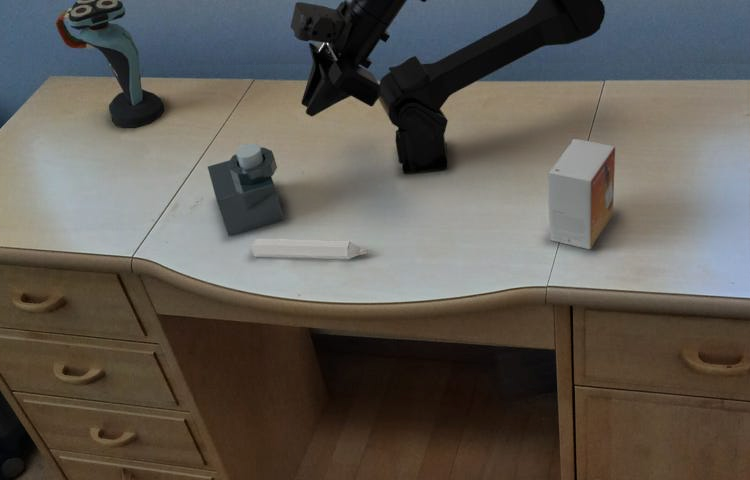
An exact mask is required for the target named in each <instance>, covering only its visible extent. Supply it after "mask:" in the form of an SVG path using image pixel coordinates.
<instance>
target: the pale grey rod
mask: <svg viewBox="0 0 750 480" xmlns="http://www.w3.org/2000/svg"><path fill="white" fill-rule="evenodd" d="M251 250H252V255H253V256H255V257H256V258H285V259H314V260H315V259H319V260H351V259H353V258H355V257H357V256H360V255H361V256H362V255H365V254H368V253H371V251H370V250H367V249H364V248H362V247H359V246H358V245H356V244H354V243H352V242H351V241H350V240H322V239H321V240H319V239H318V240H317V239H282V238H281V239H279V238H254V240H253V242H252V244H251Z"/></svg>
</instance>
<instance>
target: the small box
mask: <svg viewBox="0 0 750 480" xmlns="http://www.w3.org/2000/svg"><path fill="white" fill-rule="evenodd" d="M615 159H616V147H615V146H613V145H609V144H605V143H604V144H603V143H599V142H593V141H588V140H582V139H578V138H573V139H572V140H571V141H570V143H569V145H568V147H566V149H565V150H564V152H563V153H562V155H560V157H559V158H558V160H557V161H556V162H555V163H554V165H553V166H552V168H550V170H549V171H548V172H547V188H548V193H547V194H548V226H549V227H548V228H549V240H550V241H553V242H557V243H561V244H565V245H570V246H573V247H578V248H582V249H586V250H591V249H592V248H593V246H594V244H595V242H596V241H597V240H598V238H599V236H600V235H601V233H602V231H603V230H604V228H605V227H606V226H607V224H608V223H609V222H610V220H611V218H612V217H613V215H614V195H615V171H616V170H615V165H616V160H615Z"/></svg>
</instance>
